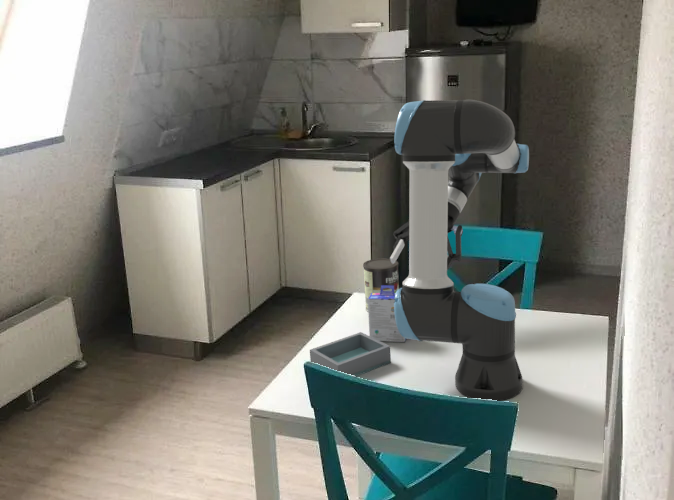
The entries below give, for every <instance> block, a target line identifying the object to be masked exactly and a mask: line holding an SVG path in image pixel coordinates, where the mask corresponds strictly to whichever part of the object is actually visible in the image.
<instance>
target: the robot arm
mask: <svg viewBox="0 0 674 500" xmlns="http://www.w3.org/2000/svg"><path fill="white" fill-rule="evenodd" d="M515 137H516V129H515V126H514V123H513V121H512V119H511V117H510V116H509V115H508V114H506V112H504V111H503V110H502V109H500V108H498V107H496V106H494V105H492V104H489V103H487V102H484V101H480V100H476V99H462V100H461V99H455V100H453V99H452V100H447V99H444V100H443V99H442V100H440V99H439V100H438V99H437V100H425V99H422V100H418V101H417V100H416V101H410V102H406V103H404V105H403V106H402V107H401V108H400V110H399V113H398V115H397V118H396V123H395V129H394V137H393V138H394V141H393V142H394V149H395V152H396V154H398V155H400V156H402V164H403V165H404V166H405V167H406V168H407V169H408V171H409V189H408V191H409V192H408V193H409V196H408V197H409V200H408V201H409V205H408V206H409V212H408V213H409V217H408V218H409V219H408V221H407V222H405V223H404V224H403V225H401V226H400V227H398V228H397V229H396V230H394V231H393V237H394V239H395V240H396V241H395V242H394V244H393V246H392V250H393V252H392V254H391V255H390V257H389V259H390V260H391V263H393V264H394V263H395V261H397V259H398V258H399V256H400V254H401V253H402V251H403V249H404V247H405V246H406V244H405V242H407V241H408V244H409V245H408V246H409V248H408V251H409V253H408V255H409V257H408V259H409V260H408V264H409V265H408V270H409V271H408V276H407V277H406V278H405V279H404V280H403V281H402V287H399V289H398V290H397V291H396V294H395V303H394V313H395V320H396V325H397V328H398V331H399V332H400V334H401V335H402V336H403V337H404V338H406V340H407V339H408V340H414V341H419V342H424V341H425V342H436V343H449V344H461V345H462V354H461V357H460V361H459V364H458V367H457V370H456V372H455V376H454V383H455V384H454V385H455V388H456V389H457V391H458V392H459V393H460V394H462V395H463V396H466V397H468V398H470V397H471V398H470V399H473V398H481V399H492V400H498V401H504V400H508V399H511V398H514V397H516V396H517V395H519V394H520V393H521V392H522V390H523V376H522V375H523V374H522V372H521V370H520V366H519V363H518V361H517V358H516V357H517V356H516V318H517V312H516V304H515V303H516V302H515V297H514V296H513V295H512V294H511V293H510V291H507V290H506V289H505V288H503V287H500V286H496V285H494V284H489V283H474V284H473V283H471V284H470V283H469V284H467V285H464V286H463V287H462V289H461V291H454V284H455V283H454V282H453V280H452V279H451V278H450V277H449V276H448V270H449V269H450V267H451V265H452V263H453V262H454V261H457V262H460V261H462V236H463V233H464V231H463V229H464V228H463V226H462V225H461V224H459V225H455V224H456V223H457V220H458V218H459V217H460V214H461V213H462V211H463V209H464V207H465V205H466V203H467V202H468V201H469V198H470V196H471V194H472V193H473V191H474V189H475V188H476V185H478V183H479V181H480V179H481V176H482V174H484V173H485V174H486V173H487V174H489V173H490V174H491V173H492V174H493V173H496V174H500V173H501V174H521V173H523V174H524V173H526V172H527V171H528V170H529V163H530V162H529V161H530V148H529V146H528V144H520V143H516V142H517V141H516V140H515ZM451 232H453V233H454V235H455V253H454V252H453V249H452V246H451V243H450V239H449V236H448V234H449V233H451Z"/></svg>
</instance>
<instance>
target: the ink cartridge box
mask: <svg viewBox="0 0 674 500" xmlns="http://www.w3.org/2000/svg"><path fill="white" fill-rule="evenodd" d="M385 288H390V289H392V291H383V289H385ZM395 294H396V293H394V286H389V285H381V291H380V293H371V295H370V296H369V298H368V312H367V313H368V329H369V331H368V332H369V336H370V337H372V338H374V339H376V340H378V341H380V342H393V343H394V342H396V343H397V342H398V343H406V340H407V339H406V338H404V337H403V336H402V335H401V334H400V332H399V331H398V328H397V325H396V320H395V313H394V303H395Z"/></svg>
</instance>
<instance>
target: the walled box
mask: <svg viewBox="0 0 674 500" xmlns="http://www.w3.org/2000/svg"><path fill="white" fill-rule="evenodd" d="M309 355H310V356H309V358H310V359H309V361H310V363H311V362H314V363H318V364H320V365H323V366H326V367H329V368H331V369H334V370H337V371H341V372H344V373H347V374H351V375H355V377H357V376H360V375H363V374H365V373H367V372H370V371H373V370H375V369H378V368H381V367H383V366H386V365H388V364H391V363H392V361H391V360H392V359H391V345H389V344H386V343H385V342H383V341H378V340H376V339H374V338H372V337H370V335H368V334H366V333H364V332H361V331H360V332H357V333H355V334H351V335H349V336H345V337H343V338H339V339H338V340H334V341H331V342H328V343H326V344H322V345H320V346H317V347H314V348H311V349H309Z"/></svg>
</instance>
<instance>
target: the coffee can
mask: <svg viewBox="0 0 674 500" xmlns="http://www.w3.org/2000/svg"><path fill="white" fill-rule="evenodd" d="M362 264H363V265H362V267H363V277H364V278H363V279H364V280H363V282H364V298H365V301H364V302H365V311H366V312H367V313H368V298H369V296H370V295H371V293H380V291H381V285H389V286H394V293H396V291H397V290H398V289H400V287H399V286H400V285H399V261H397V260H396V261H395V263H394V264H393V263H391V260H390V258H385V257H384V258H373V259H368V260H366V261H364V262H363V263H362ZM383 291H392V289H390V288H385V289H383Z"/></svg>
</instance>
